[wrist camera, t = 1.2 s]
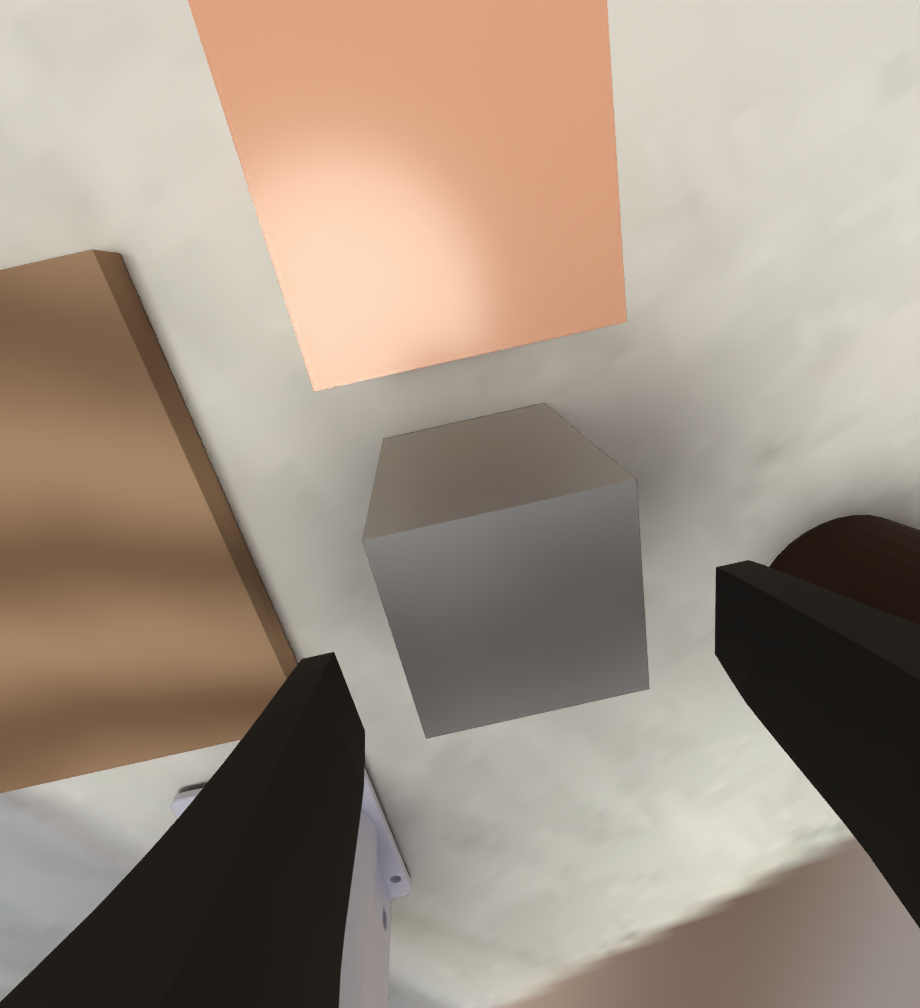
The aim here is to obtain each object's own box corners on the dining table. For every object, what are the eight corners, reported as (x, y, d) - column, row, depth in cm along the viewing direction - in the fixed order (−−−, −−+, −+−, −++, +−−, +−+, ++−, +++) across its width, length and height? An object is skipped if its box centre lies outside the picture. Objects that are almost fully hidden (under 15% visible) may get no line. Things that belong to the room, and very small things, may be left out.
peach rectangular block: (531, 309, 14) (627, 321, 8) (358, 348, 14) (314, 391, 8) (502, 91, 12) (599, -130, 6) (299, 136, 12) (176, -36, 6)
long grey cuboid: (563, 545, 18) (649, 688, 11) (421, 576, 18) (426, 738, 11) (544, 403, 16) (636, 479, 9) (383, 438, 16) (362, 540, 9)
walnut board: (313, 700, 19) (307, 724, 18) (15, 766, 19) (-9, 794, 18) (119, 253, 13) (92, 249, 12) (-326, 352, 13) (-394, 357, 12)
